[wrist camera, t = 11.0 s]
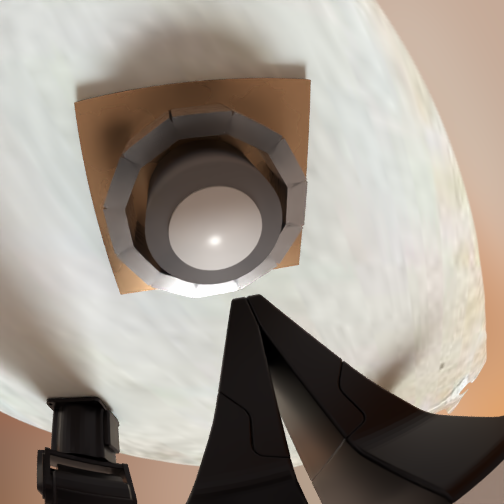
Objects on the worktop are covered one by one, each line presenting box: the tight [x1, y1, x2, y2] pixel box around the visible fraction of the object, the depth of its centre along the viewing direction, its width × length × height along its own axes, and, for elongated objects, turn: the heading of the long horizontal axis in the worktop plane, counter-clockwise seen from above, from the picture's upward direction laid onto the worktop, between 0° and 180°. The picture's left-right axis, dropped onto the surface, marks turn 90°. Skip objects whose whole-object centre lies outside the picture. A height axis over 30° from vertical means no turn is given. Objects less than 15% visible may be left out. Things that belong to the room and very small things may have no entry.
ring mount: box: [74, 78, 311, 298], centre depth 15 cm, size 12×12×3 cm
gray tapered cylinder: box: [145, 139, 282, 285], centre depth 15 cm, size 6×6×4 cm
